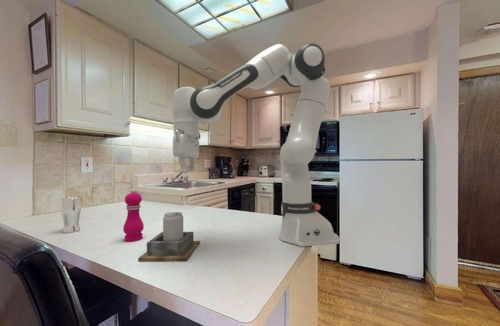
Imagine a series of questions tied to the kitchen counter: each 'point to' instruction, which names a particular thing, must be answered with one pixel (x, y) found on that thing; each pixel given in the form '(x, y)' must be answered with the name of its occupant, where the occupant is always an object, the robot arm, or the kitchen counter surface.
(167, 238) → the beverage can
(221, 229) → the kitchen counter surface
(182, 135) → the robot arm
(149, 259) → the collar plate
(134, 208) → the pepper mill
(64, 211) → the beer glass
